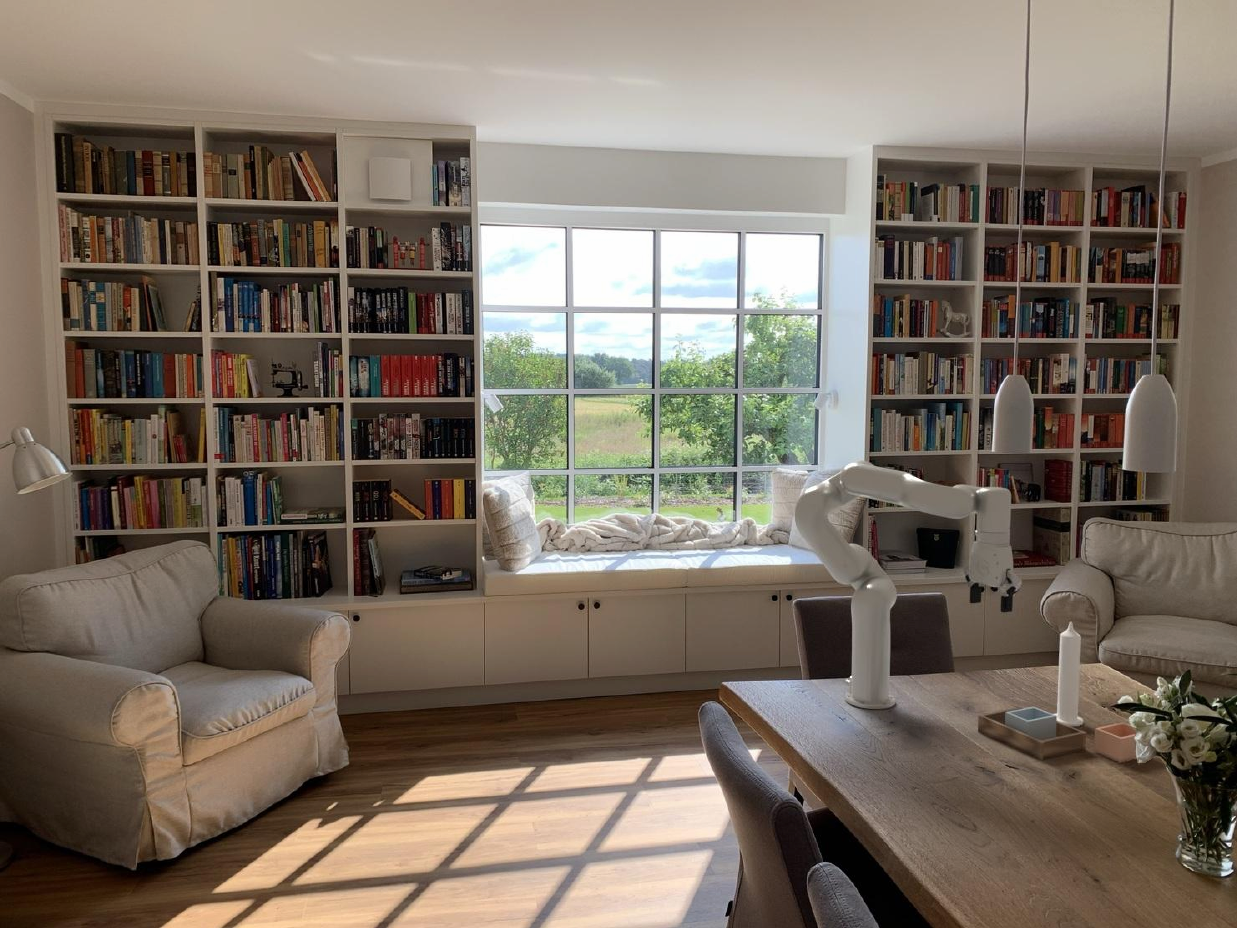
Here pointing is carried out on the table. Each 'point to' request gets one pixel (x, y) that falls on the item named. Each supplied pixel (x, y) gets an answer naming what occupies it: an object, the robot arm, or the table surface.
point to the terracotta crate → (1115, 742)
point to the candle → (1069, 677)
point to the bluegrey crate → (1032, 722)
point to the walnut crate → (1062, 744)
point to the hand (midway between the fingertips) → (990, 607)
